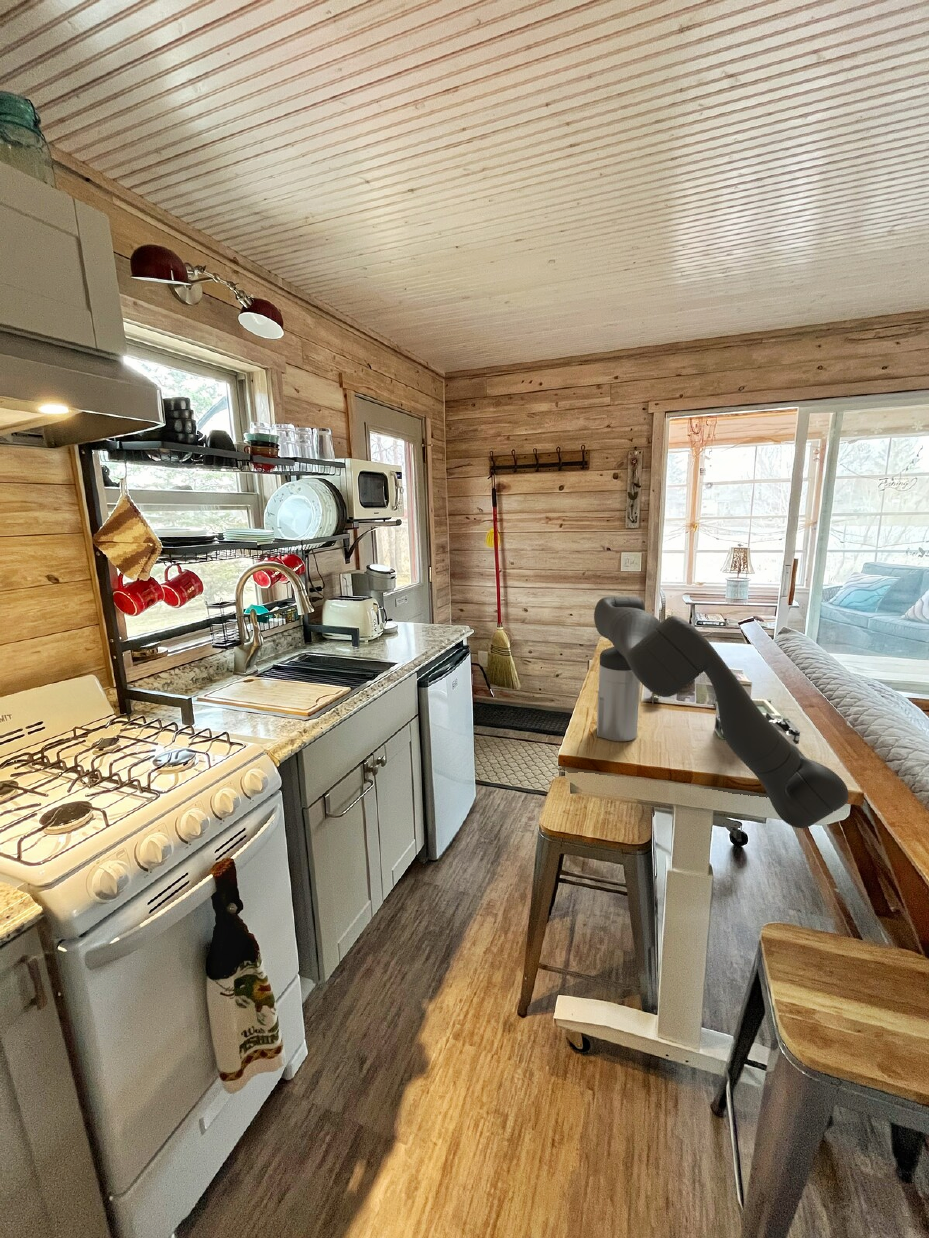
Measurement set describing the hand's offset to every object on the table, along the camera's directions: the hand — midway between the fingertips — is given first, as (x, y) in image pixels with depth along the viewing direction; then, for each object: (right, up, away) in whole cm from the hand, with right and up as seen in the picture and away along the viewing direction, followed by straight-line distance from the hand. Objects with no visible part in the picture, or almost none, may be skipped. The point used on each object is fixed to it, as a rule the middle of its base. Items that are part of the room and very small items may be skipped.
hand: (745, 715), depth 112 cm
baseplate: (+13, -4, +23) cm, 27 cm away
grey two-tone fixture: (-7, -3, +34) cm, 35 cm away
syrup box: (+2, -7, +11) cm, 14 cm away
